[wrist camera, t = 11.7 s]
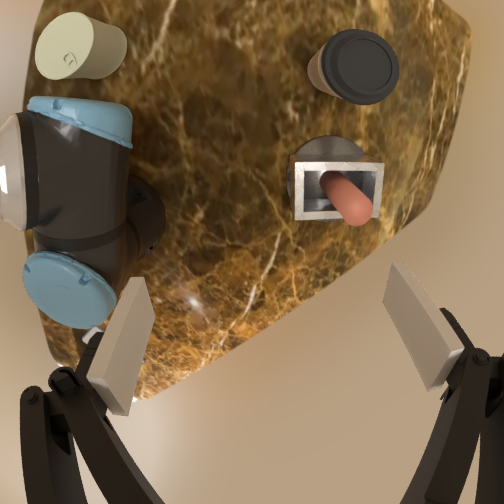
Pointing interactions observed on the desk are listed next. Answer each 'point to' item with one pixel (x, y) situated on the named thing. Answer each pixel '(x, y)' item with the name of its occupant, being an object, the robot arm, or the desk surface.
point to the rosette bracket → (323, 159)
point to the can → (79, 48)
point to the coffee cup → (355, 67)
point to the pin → (346, 198)
